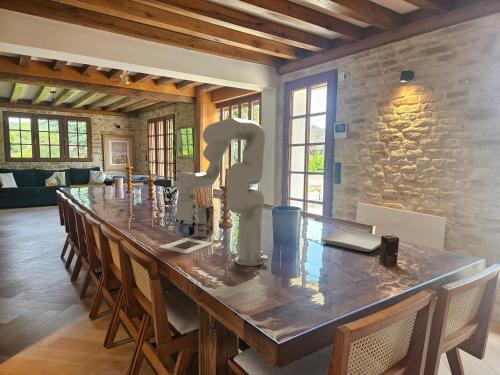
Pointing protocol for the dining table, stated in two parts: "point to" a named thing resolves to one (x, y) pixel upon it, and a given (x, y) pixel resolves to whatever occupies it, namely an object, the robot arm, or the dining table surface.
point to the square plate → (354, 240)
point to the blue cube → (184, 230)
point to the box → (389, 250)
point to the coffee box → (205, 221)
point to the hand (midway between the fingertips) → (186, 233)
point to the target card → (189, 250)
